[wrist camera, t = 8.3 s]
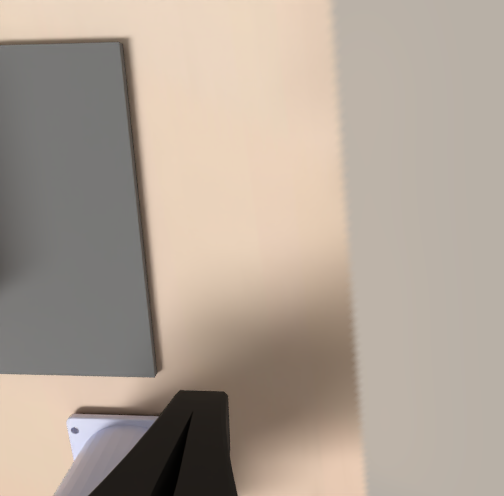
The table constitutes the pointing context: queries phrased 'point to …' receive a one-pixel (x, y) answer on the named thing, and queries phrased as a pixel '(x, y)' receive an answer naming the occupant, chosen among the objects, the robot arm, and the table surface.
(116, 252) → the mat
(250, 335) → the table surface
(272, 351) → the table surface
